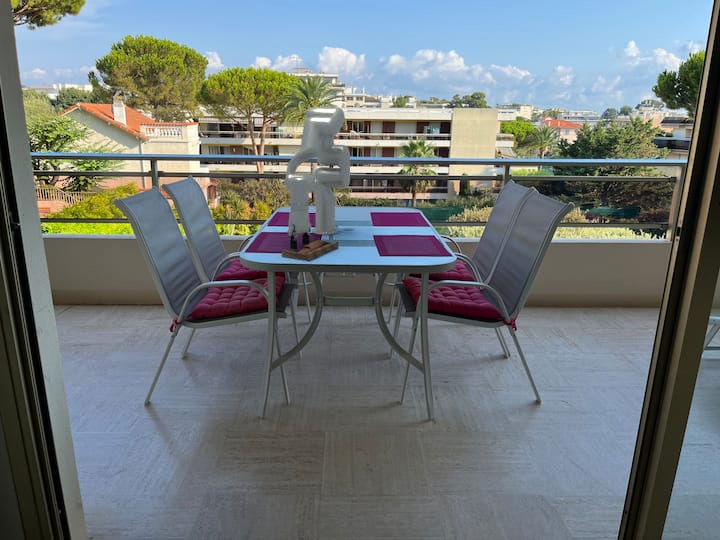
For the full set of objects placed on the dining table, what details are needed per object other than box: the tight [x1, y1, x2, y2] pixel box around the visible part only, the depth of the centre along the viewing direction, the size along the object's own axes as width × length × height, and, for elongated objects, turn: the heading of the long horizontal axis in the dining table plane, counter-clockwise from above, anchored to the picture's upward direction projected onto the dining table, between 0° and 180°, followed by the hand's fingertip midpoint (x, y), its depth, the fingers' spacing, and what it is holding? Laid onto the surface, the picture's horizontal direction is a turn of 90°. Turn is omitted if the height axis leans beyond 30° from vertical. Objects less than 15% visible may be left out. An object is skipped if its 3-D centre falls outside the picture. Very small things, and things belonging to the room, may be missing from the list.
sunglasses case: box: [298, 239, 325, 254], centre depth 225 cm, size 18×7×7 cm
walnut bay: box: [281, 238, 339, 262], centre depth 224 cm, size 24×13×3 cm, turn 154°
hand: (299, 246), depth 226 cm, fingers open, 9 cm apart
